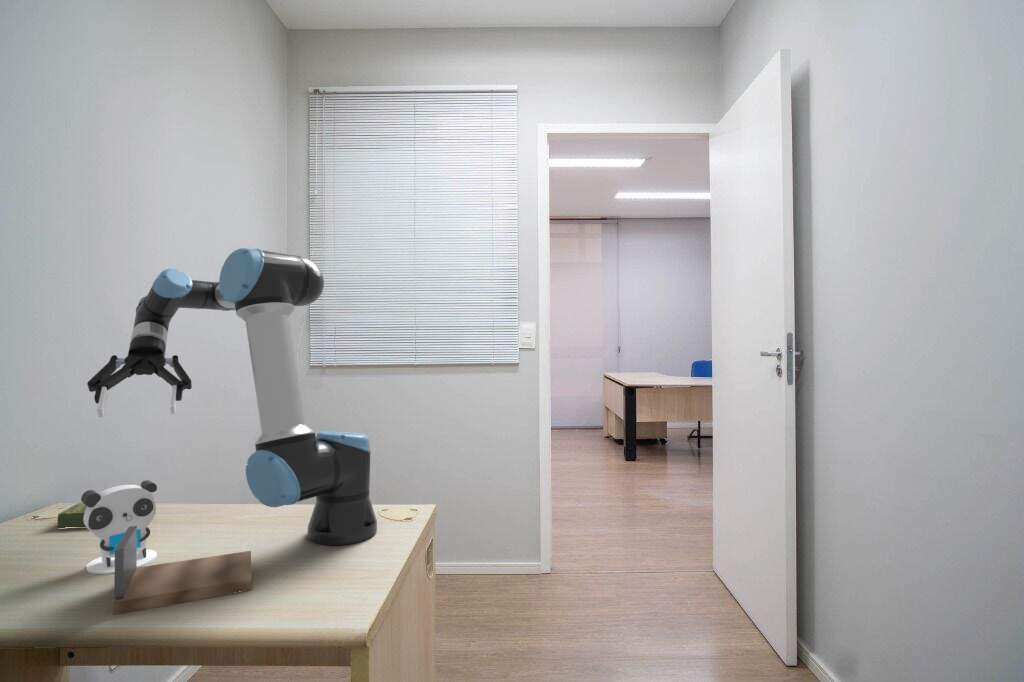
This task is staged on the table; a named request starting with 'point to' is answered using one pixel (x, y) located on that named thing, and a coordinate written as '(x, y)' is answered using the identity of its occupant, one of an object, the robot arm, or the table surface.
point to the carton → (72, 516)
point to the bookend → (125, 562)
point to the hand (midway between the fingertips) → (137, 411)
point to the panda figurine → (119, 521)
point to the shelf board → (186, 581)
